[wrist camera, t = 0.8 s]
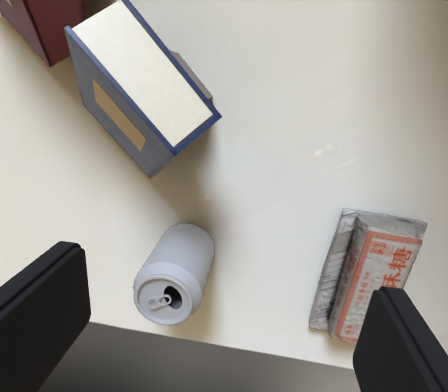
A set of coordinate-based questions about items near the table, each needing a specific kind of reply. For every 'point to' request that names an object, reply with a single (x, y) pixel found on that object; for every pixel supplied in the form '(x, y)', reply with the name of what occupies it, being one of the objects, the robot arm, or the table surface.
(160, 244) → the can
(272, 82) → the table surface
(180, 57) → the walnut block
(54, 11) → the burgundy book
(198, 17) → the table surface
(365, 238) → the packaged product
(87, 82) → the navy book
